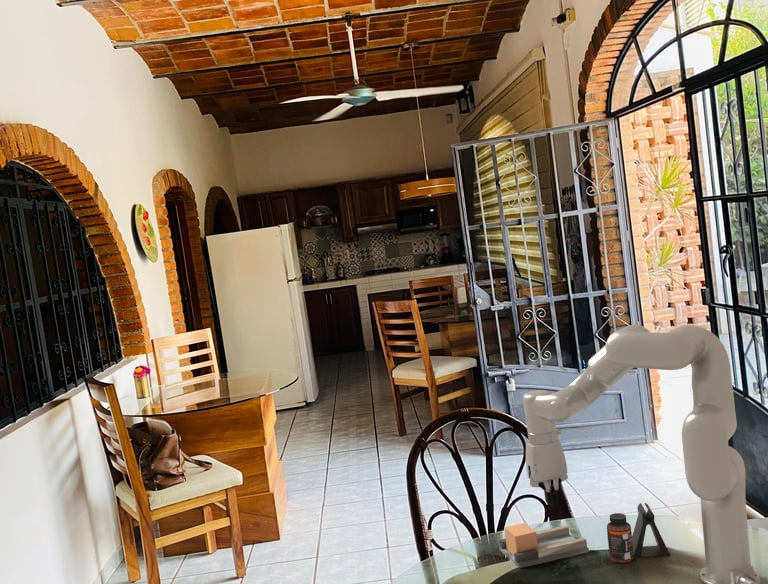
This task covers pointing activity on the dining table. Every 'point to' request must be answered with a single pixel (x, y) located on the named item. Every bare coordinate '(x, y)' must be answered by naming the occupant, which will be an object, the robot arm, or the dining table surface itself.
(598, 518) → the dining table surface
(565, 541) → the chute
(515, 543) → the block
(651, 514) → the dark a-frame stand
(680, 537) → the dining table surface
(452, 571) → the dining table surface
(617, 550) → the supplement bottle
